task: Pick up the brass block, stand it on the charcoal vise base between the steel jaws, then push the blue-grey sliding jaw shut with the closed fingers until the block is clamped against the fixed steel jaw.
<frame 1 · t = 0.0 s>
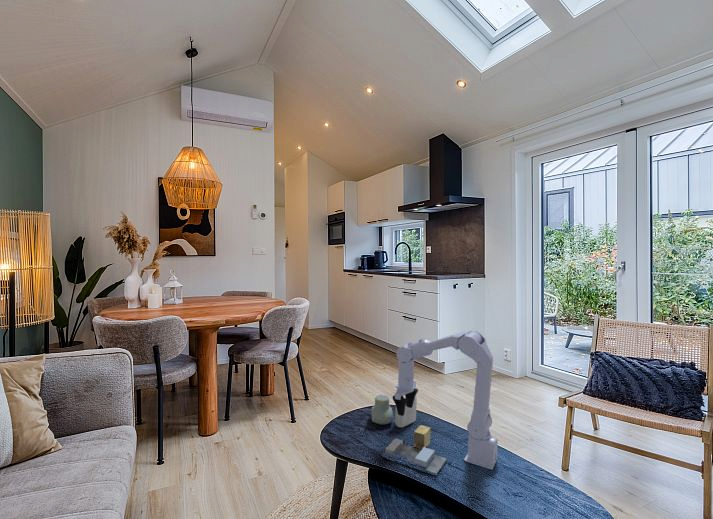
hand: (405, 411, 151), 10 cm above the table, tool pointing down, fingers open, 7 cm apart
air freshener: (381, 421, 164), on the table
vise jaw: (424, 457, 135), point 2 cm above the table, slide at 0.0 cm
vise: (419, 461, 136), on the table
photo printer: (405, 423, 162), on the table
brass block: (422, 445, 146), on the table
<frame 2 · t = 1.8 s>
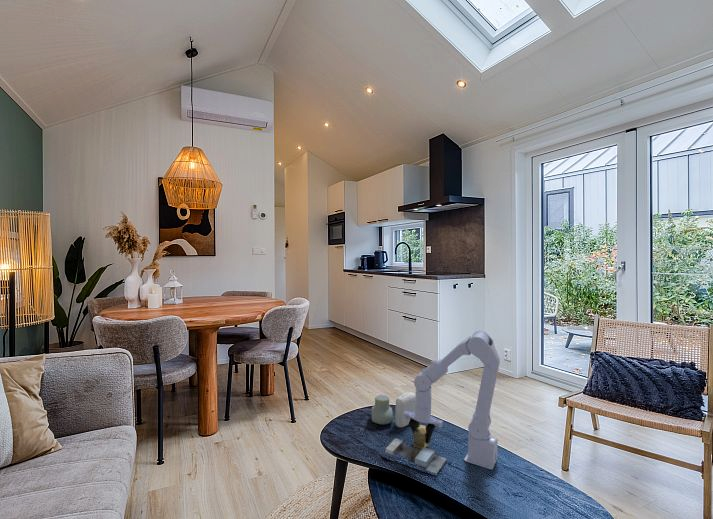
hand: (422, 440, 146), 2 cm above the table, tool pointing down, fingers closed on brass block, 4 cm apart
brass block: (422, 445, 146), on the table, touching gripper
everything else where it was.
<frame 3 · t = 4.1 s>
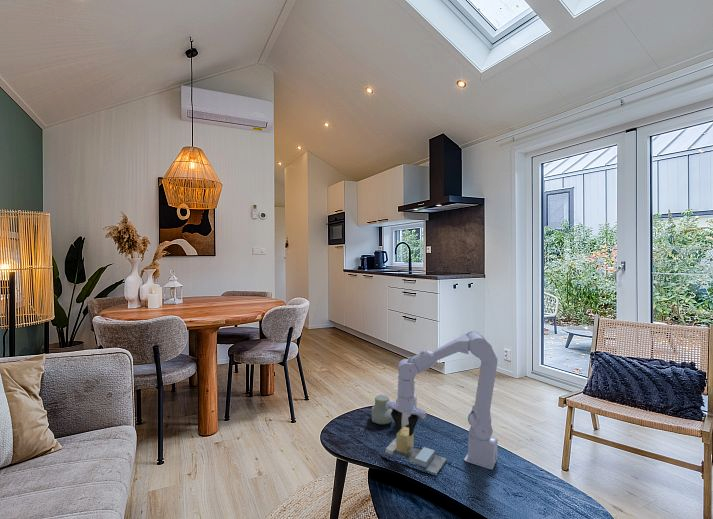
hand: (405, 432, 138), 9 cm above the table, tool pointing down, fingers closed on brass block, 4 cm apart
brass block: (404, 447, 138), point 3 cm above the table, touching gripper
everything else where it was.
when the fingers open (4 cm above the table, at t = 5.4 s): brass block stays where it is, resting on vise.
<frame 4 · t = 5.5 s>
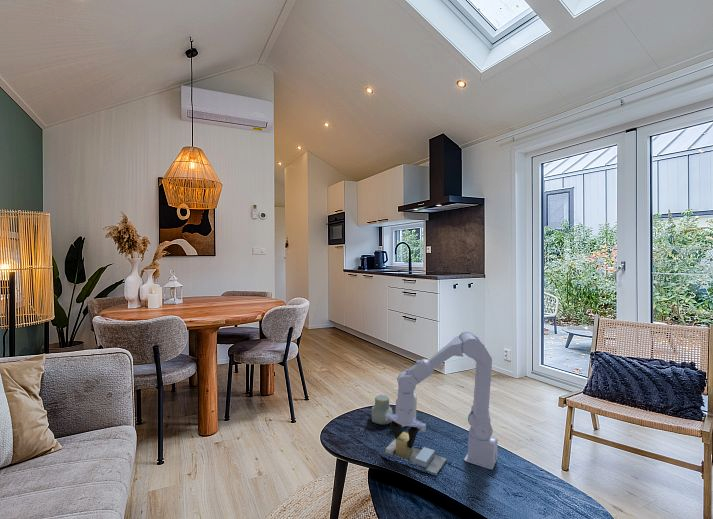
hand: (404, 444, 138), 4 cm above the table, tool pointing down, fingers open, 4 cm apart
brass block: (404, 453, 139), point 1 cm above the table, touching vise
everything else where it was.
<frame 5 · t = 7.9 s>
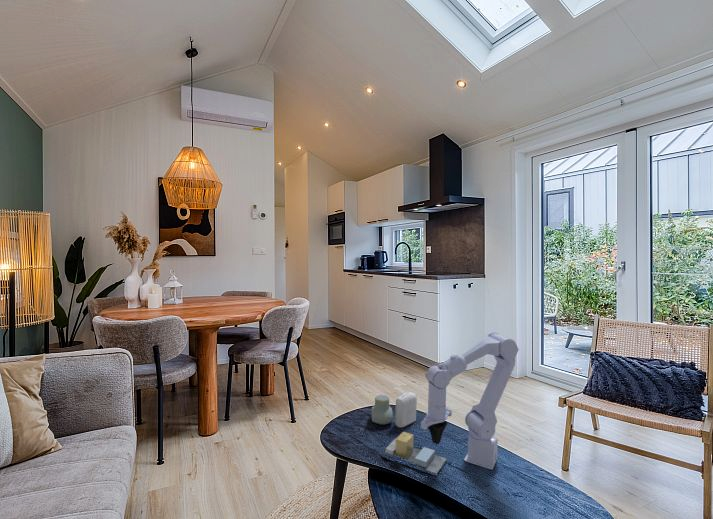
hand: (436, 442, 132), 8 cm above the table, tool pointing down, fingers closed
nothing on the table moved.
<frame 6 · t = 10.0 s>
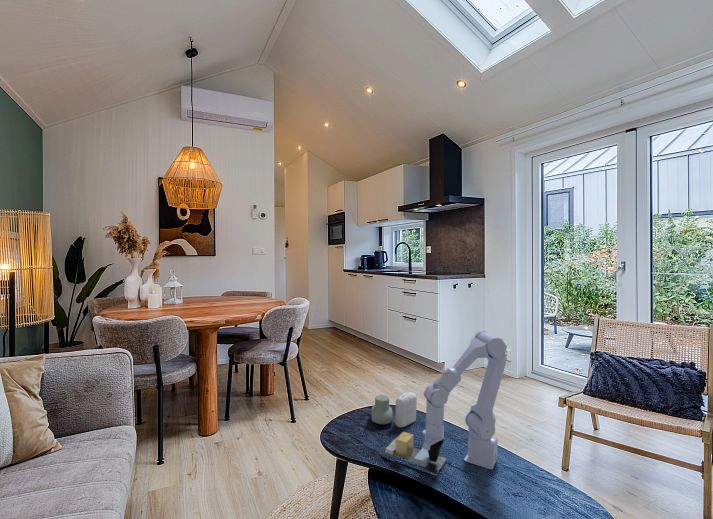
hand: (433, 460, 133), 2 cm above the table, tool pointing down, fingers closed, pressing on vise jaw
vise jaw: (424, 456, 135), point 2 cm above the table, slide at 0.2 cm, touching gripper
everything else where it was.
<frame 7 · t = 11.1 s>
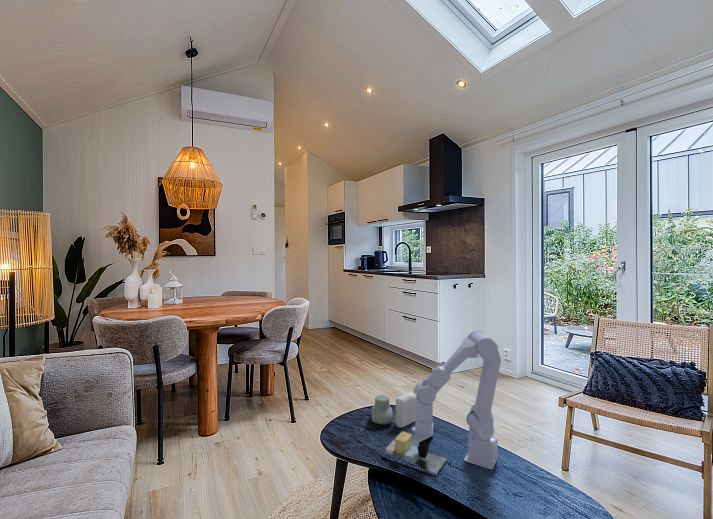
hand: (422, 456, 135), 2 cm above the table, tool pointing down, fingers closed, pressing on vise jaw
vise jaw: (414, 453, 137), point 2 cm above the table, slide at 4.0 cm, touching brass block, gripper
brass block: (403, 452, 139), point 1 cm above the table, touching vise, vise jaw
everything else where it was.
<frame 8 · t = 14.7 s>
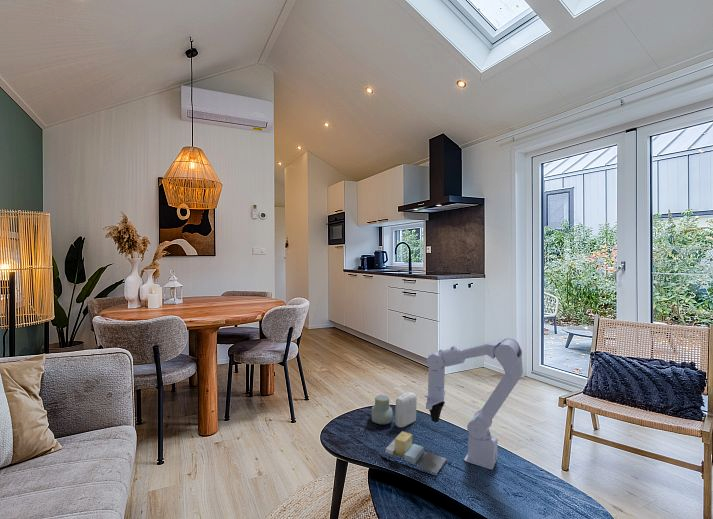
hand: (435, 421, 145), 9 cm above the table, tool pointing down, fingers closed
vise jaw: (414, 453, 137), point 2 cm above the table, slide at 4.0 cm
brass block: (403, 452, 139), point 1 cm above the table, touching vise
everything else where it was.
at the end: brass block 0.0 cm from the target spot on the vise, point 1.0 cm above the vise's base; brass block tilted 0°; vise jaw slide at 4.0 cm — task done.
